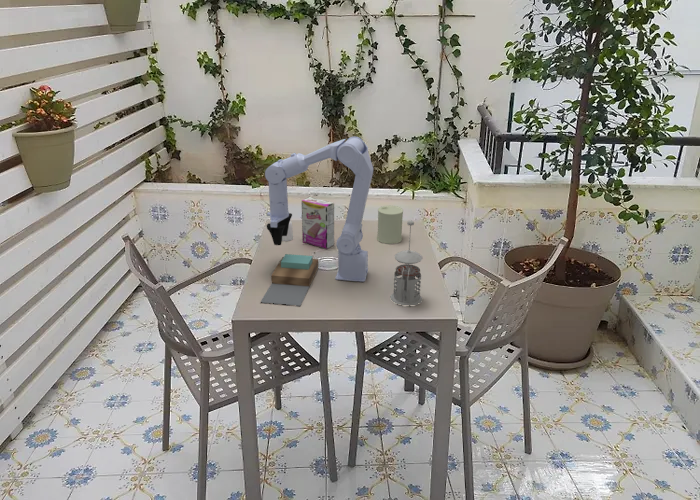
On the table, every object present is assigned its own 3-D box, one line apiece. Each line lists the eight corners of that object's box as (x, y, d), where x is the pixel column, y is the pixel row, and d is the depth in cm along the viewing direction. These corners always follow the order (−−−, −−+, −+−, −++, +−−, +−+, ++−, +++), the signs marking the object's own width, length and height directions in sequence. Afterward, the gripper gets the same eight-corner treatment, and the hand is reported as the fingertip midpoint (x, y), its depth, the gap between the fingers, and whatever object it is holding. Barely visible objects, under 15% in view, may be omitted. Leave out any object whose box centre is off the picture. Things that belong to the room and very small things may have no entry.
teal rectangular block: (312, 261, 186) (312, 256, 185) (308, 269, 180) (308, 263, 179) (285, 259, 187) (285, 254, 186) (281, 267, 181) (280, 261, 181)
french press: (424, 292, 173) (430, 215, 163) (420, 311, 163) (425, 231, 153) (392, 289, 175) (396, 212, 165) (386, 307, 165) (389, 227, 155)
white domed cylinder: (295, 236, 212) (294, 216, 209) (288, 242, 207) (287, 221, 204) (282, 234, 214) (281, 214, 210) (275, 239, 209) (274, 219, 206)
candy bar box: (301, 242, 207) (300, 200, 200) (309, 238, 211) (308, 196, 204) (327, 249, 201) (326, 206, 195) (335, 245, 205) (334, 202, 199)
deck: (318, 267, 188) (318, 259, 187) (309, 287, 176) (309, 278, 175) (283, 264, 190) (282, 256, 189) (271, 284, 177) (271, 275, 176)
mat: (309, 287, 176) (309, 286, 176) (300, 306, 165) (300, 305, 165) (271, 284, 177) (271, 283, 177) (260, 302, 167) (260, 302, 166)
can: (385, 232, 217) (386, 202, 212) (406, 238, 212) (408, 207, 207) (372, 240, 210) (372, 209, 205) (393, 246, 205) (394, 214, 200)
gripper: (272, 192, 186) (274, 230, 192) (259, 207, 173) (262, 248, 179) (293, 193, 185) (295, 232, 191) (282, 208, 172) (284, 249, 178)
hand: (280, 240), depth 185 cm, fingers open, 7 cm apart
